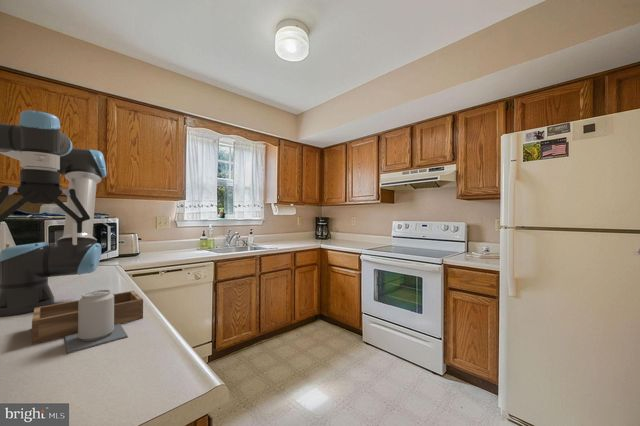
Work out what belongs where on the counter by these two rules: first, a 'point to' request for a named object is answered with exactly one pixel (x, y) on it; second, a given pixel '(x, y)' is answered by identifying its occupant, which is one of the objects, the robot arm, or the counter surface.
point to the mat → (78, 344)
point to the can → (95, 315)
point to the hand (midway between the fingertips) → (41, 246)
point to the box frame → (65, 316)
